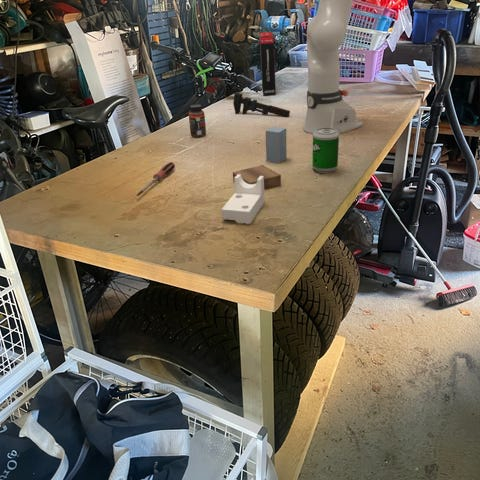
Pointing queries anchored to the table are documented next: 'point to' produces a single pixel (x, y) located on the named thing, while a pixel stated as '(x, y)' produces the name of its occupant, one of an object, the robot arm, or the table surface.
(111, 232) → the table surface
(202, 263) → the table surface
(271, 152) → the gray block
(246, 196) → the bracket
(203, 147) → the table surface
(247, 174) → the walnut block
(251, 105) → the adjustable wrench
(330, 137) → the soda can
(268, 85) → the graphics card box
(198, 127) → the supplement bottle
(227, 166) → the table surface
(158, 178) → the screwdriver
